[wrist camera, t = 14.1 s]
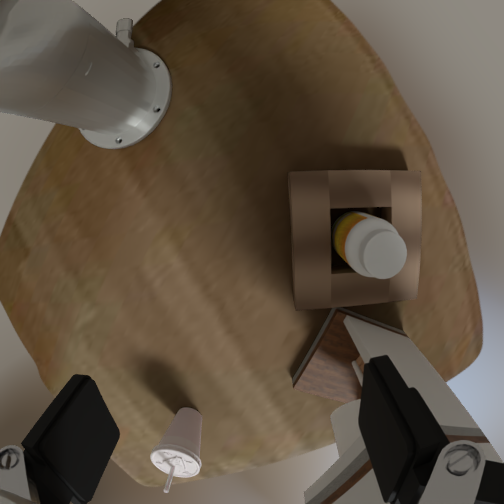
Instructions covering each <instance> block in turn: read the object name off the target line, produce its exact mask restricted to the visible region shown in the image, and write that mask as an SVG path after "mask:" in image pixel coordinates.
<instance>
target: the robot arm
mask: <svg viewBox="0 0 504 504" xmlns="http://www.w3.org/2000/svg"><path fill="white" fill-rule="evenodd" d="M132 26H133V20H132V19H129V18H124V19H121V20H119V21H118V22H117V28H116V36H114V35H113V34H112V33H111V32H110V31H108V29H106V28H105V27H104V26H103V25H102V24H101V23H99V22H98V21H97V20H96V19H95V18H93V17H92V16H91V15H90V14H88V13H87V12H86V11H85V10H84V9H83V8H81V7H80V6H79V5H77V4H76V3H75V2H74V1H72V0H0V112H2V113H9V114H14V115H18V116H24V117H29V118H34V119H40V120H44V121H50V122H54V123H58V124H63V125H68V126H72V127H76V128H79V130H80V132H81V133H82V135H83V136H84V137H85V138H86V139H87V140H88V141H89V142H91V143H92V144H94V145H96V146H98V147H102V148H107V149H119V148H125V147H128V146H131V145H134V144H135V143H137V142H139V141H141V140H143V139H144V138H145V137H146V136H148V135H149V134H150V133H151V132H152V131H153V130H154V129H155V128H156V127H157V126H158V124H159V123H160V121H161V120H162V118H163V117H164V115H165V113H166V111H167V108H168V106H169V103H170V99H171V94H172V81H171V76H170V73H169V70H168V68H167V66H166V65H165V63H164V62H163V61H162V60H161V59H160V58H159V57H158V56H157V55H155V54H154V53H153V52H151V51H148V50H145V49H141V48H134V41H133V40H131V34H132ZM158 66H159V67H158ZM157 67H158V68H157ZM158 109H161V110H160V111H159V112H158ZM121 140H122V142H121ZM358 425H359V429H360V432H361V435H362V438H363V441H364V443H365V446H366V449H367V452H368V455H369V458H370V461H371V464H372V467H373V470H374V473H375V476H376V479H377V482H378V485H379V489H380V492H381V495H382V498H383V501H384V502H385V503H388V502H390V504H504V463H500V462H495V461H489V460H485V458H486V456H485V453H484V451H483V449H482V448H481V447H480V446H479V445H478V444H476V443H475V442H472V441H468V440H459V441H454V442H452V443H450V442H449V440H448V438H447V437H446V435H445V433H444V432H443V430H442V428H441V427H440V425H439V423H438V422H437V420H436V418H435V417H434V415H433V414H432V412H431V410H430V409H429V407H428V406H427V404H426V403H425V401H424V399H423V398H422V396H421V395H420V393H419V392H418V390H417V389H416V388H414V387H411V388H408V386H407V384H406V383H405V381H404V380H403V378H402V376H401V375H400V373H399V372H398V370H397V368H396V367H395V365H394V364H393V362H392V361H391V359H390V358H389V356H388V355H382V356H378V357H373V358H370V360H369V363H365V364H364V371H363V382H362V392H361V401H360V409H359V417H358ZM119 437H120V432H119V429H118V427H117V425H116V423H115V421H114V419H113V418H112V416H111V414H110V412H109V410H108V408H107V406H106V404H105V402H104V400H103V398H102V396H101V394H100V392H99V389H98V387H97V385H96V383H95V381H94V380H92V379H91V377H90V376H88V375H79V374H75V375H73V376H72V377H71V379H70V380H69V381H68V382H67V384H66V385H65V386H64V388H63V389H62V390H61V391H60V393H59V394H58V395H57V396H56V398H55V399H54V400H53V402H52V403H51V404H50V405H49V407H48V408H47V409H46V411H45V412H44V413H43V415H42V416H41V417H40V418H39V420H38V421H37V422H36V424H35V425H34V427H33V428H32V429H31V431H30V432H29V433H28V435H27V436H26V438H25V439H24V440H23V441H22V443H21V444H22V446H23V447H24V448H25V450H24V452H23V451H22V450H21V449H20V448H19V447H17V446H14V445H10V446H6V447H3V448H2V449H0V504H69V503H70V501H71V502H72V503H73V504H87V502H89V501H91V499H92V497H93V495H94V493H95V490H96V488H97V486H98V483H99V481H100V479H101V477H102V474H103V472H104V470H105V468H106V466H107V463H108V461H109V459H110V457H111V455H112V453H113V450H114V448H115V446H116V444H117V442H118V440H119Z"/></svg>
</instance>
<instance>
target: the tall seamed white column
mask: <svg viewBox="0 0 504 504" xmlns="http://www.w3.org/2000/svg"><path fill="white" fill-rule="evenodd" d="M382 355H388V356H389V358H390V359H391V361H392V362H393V364H394V365H395V367H396V368H397V370H398V372H399V373H400V375H401V376H402V378H403V380H404V381H405V383H406V384H407V386H408V388H411V387H414V388H416V389H417V390H418V392H419V393H420V395H421V396H422V398H423V399H424V401H425V403H426V404H427V406H428V407H429V409H430V410H431V412H432V414H433V415H434V417H435V418H436V420H437V422H438V423H439V425H440V427H441V428H442V430H443V432H444V433H445V435H446V437H447V438H448V440H449V442H450V443H452V442H454V441H459V440H468V441H472V442H475V443H476V444H478V445H479V446H480V447H481V448H482V449H483V451H484V453H485V456H486V458H485V460H489V461H495V462H500V463H503V462H502V460H501V458H500V457H499V455H498V454H497V452H496V451H495V449H494V448H493V446H492V445H491V444H490V442H489V441H488V439H487V438H486V437H485V435H484V434H483V432H482V431H481V429H480V428H479V427H478V425H477V424H476V422H475V421H474V420H473V418H472V417H471V416H470V414H469V413H468V412H467V410H466V409H465V407H464V406H463V405H462V404H461V402H460V401H459V400H458V398H457V397H456V396H455V394H454V393H453V392H452V390H451V389H450V388H449V386H448V385H447V384H446V383H445V381H444V380H443V379H442V378H441V376H440V375H439V374H438V373H437V371H436V370H435V369H434V368H433V366H432V365H431V364H430V363H429V361H428V360H427V359H426V358H425V356H424V355H423V354H422V353H421V352H420V350H419V349H418V348H417V347H416V345H415V344H414V343H413V342H412V341H411V339H410V338H409V337H408V336H407V335H406V334H405V332H404V331H402V330H400V329H397V328H394V327H392V326H389V325H386V324H384V323H381V322H378V321H376V320H373V319H371V318H368V317H365V316H363V315H360V314H358V313H355V312H352V311H350V310H347V309H345V308H342V307H336V308H332V310H331V311H330V313H329V315H328V317H327V319H326V321H325V323H324V325H323V326H322V328H321V330H320V332H319V334H318V335H317V337H316V339H315V341H314V343H313V344H312V346H311V348H310V350H309V351H308V353H307V355H306V357H305V358H304V360H303V362H302V363H301V365H300V367H299V369H298V370H297V372H296V374H295V375H294V377H293V379H292V383H293V389H296V390H299V391H303V392H306V393H310V394H314V395H317V396H321V397H325V398H329V399H332V400H336V401H340V402H345V403H346V404H344V405H342V406H340V407H339V408H337V409H336V410H334V411H333V413H332V414H331V416H330V419H331V423H332V427H333V431H334V435H335V440H336V444H337V448H338V452H339V457H340V458H339V459H338V460H337V461H336V462H335V463H334V464H333V465H332V466H331V467H330V468H329V469H328V470H327V471H326V472H325V473H324V474H323V475H322V476H321V477H320V478H319V479H318V480H317V481H316V482H315V483H314V484H313V485H312V486H310V487H309V488H308V489H307V490H306V491H305V492H304V497H305V504H390V502H388V503H385V502H384V501H383V498H382V495H381V492H380V489H379V485H378V482H377V479H376V476H375V473H374V470H373V467H372V464H371V461H370V458H369V455H368V452H367V449H366V446H365V443H364V441H363V438H362V435H361V432H360V429H359V425H358V417H359V409H360V401H361V392H362V382H363V371H364V364H365V363H369V360H370V358H373V357H378V356H382Z"/></svg>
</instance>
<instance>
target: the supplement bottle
mask: <svg viewBox="0 0 504 504" xmlns="http://www.w3.org/2000/svg"><path fill="white" fill-rule="evenodd" d="M331 242H332V245H333V248H334V249H335V251H336V252H337V253H338V254H339V255H340V256H341V257H342V258H343V259H344V260H345V261H346V262H347V263H348V264H349V266H350V267H351V268H352V269H354V270H355V271H356V272H357V273H359V274H360V275H363V276H366V277H375V278H378V279H388V278H391V277H393V276H395V275H396V274H397V273H398V272H399V271H400V270H401V269H402V268H403V266H404V264H405V261H406V257H407V249H406V245H405V242H404V241H403V239H402V238H401V237H400V236H399V234H398V232H397V230H396V229H395V228H394V226H393V225H392V224H390V223H389V222H387V221H386V220H384V219H381V218H378V217H375V216H372V215H369V214H366V213H364V212H359V211H350V212H347V213H345V214H343V215H341V216H340V217H339V218H338V219H337V220H336V221H335V223H334V224H333V227H332V230H331Z"/></svg>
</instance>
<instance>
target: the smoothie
mask: <svg viewBox="0 0 504 504" xmlns="http://www.w3.org/2000/svg"><path fill="white" fill-rule="evenodd" d="M201 426H202V416H201V414H200V413H199V412H198V411H197V410H195V409H193V408H189V407H184V408H181V409H179V410H178V412H177V414H176V415H175V417H174V419H173V421H172V422H171V424H170V426H169V427H168V429H167V431H166V432H165V434H164V436H163V437H162V439H161V441H160V442H159V444H158V445H157V446H155V447H154V448H153V449H152V453H151V460H152V462H153V464H154V465H155V466H156V467H157V468H159V469H160V470H161V471H163V472H165V473H167V474H169V475H168V478H167V481H166V485H165V488H164V492H166V493H168V491H169V488H170V484H171V481H172V478H173V476H177V477H191V476H195V475H196V474H198V473H199V471H200V467H201V460H200V459H199V456H200V441H201Z"/></svg>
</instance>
